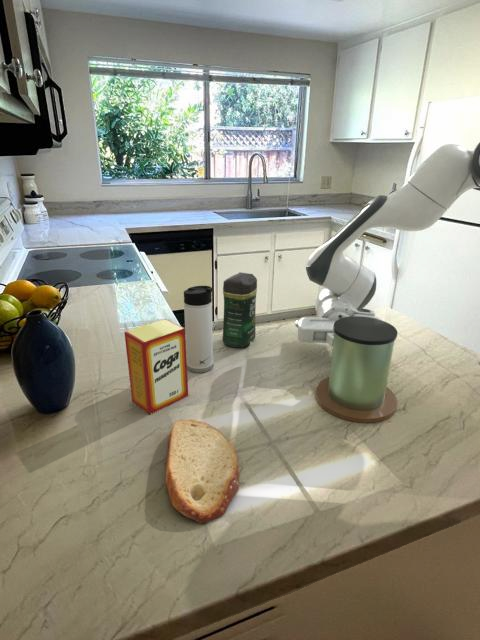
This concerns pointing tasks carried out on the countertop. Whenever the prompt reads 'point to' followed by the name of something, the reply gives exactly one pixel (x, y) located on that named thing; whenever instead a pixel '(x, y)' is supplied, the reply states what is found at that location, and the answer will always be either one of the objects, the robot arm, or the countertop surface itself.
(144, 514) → the countertop surface
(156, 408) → the baking soda box
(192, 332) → the travel mug
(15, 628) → the countertop surface
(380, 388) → the lidded mug on coaster
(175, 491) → the slice of bread
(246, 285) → the coffee jar
